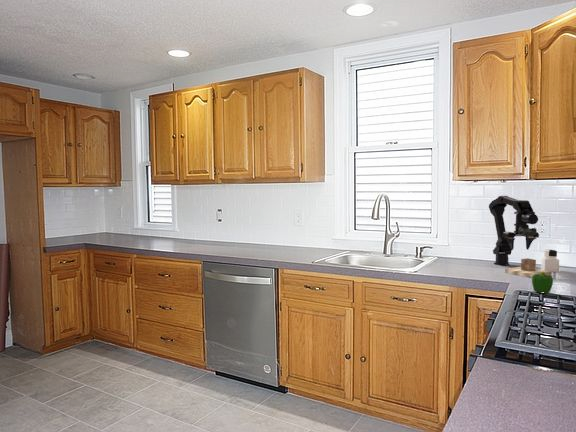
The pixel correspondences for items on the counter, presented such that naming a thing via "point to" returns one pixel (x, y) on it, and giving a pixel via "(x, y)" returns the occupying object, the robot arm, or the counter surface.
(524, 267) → the walnut block
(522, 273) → the birch base
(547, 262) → the medicine bottle
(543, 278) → the bell pepper
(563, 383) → the counter surface
